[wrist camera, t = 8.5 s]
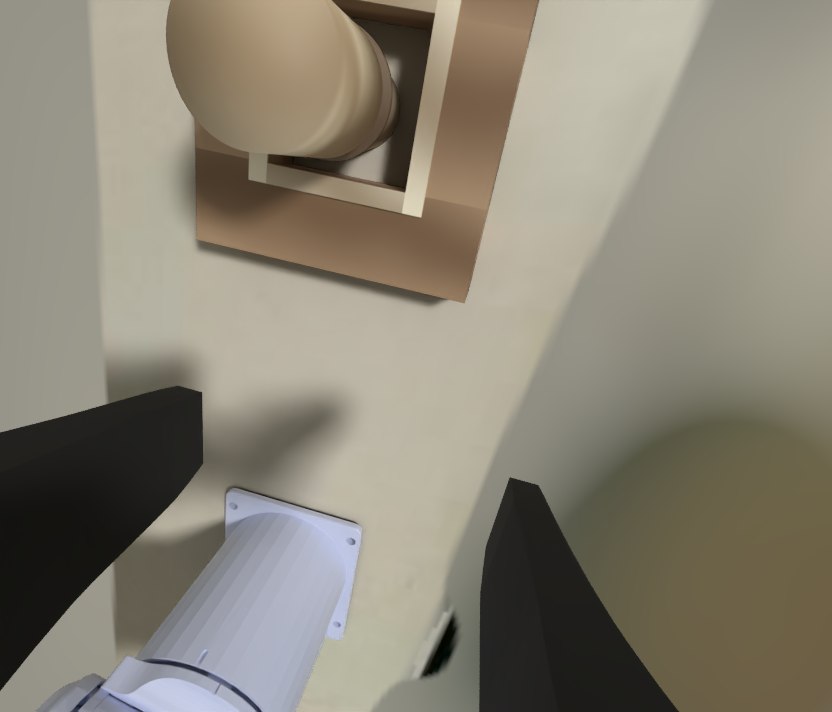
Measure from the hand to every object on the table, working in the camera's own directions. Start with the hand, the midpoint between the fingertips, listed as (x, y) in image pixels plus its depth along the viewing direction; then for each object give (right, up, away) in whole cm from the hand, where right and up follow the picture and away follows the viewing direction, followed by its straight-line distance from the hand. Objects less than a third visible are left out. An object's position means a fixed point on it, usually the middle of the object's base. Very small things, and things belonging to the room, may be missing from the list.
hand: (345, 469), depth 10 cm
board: (0, +12, +7) cm, 14 cm away
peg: (-1, +12, +7) cm, 14 cm away
